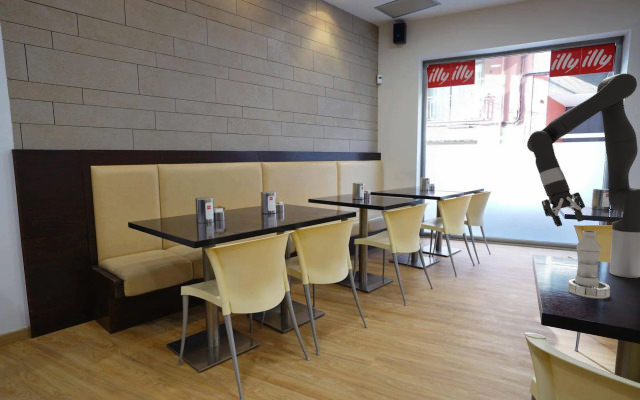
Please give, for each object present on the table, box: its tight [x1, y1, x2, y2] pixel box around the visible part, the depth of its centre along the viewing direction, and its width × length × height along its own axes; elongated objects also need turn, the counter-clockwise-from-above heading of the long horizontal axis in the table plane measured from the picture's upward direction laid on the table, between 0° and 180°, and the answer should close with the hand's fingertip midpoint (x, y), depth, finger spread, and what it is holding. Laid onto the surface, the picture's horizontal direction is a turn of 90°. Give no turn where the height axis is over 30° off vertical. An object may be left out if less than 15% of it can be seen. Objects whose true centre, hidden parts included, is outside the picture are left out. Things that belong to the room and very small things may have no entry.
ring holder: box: [567, 278, 611, 300], centre depth 125 cm, size 11×11×3 cm
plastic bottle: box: [574, 230, 602, 288], centre depth 125 cm, size 6×7×20 cm
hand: (570, 223), depth 137 cm, fingers open, 8 cm apart
